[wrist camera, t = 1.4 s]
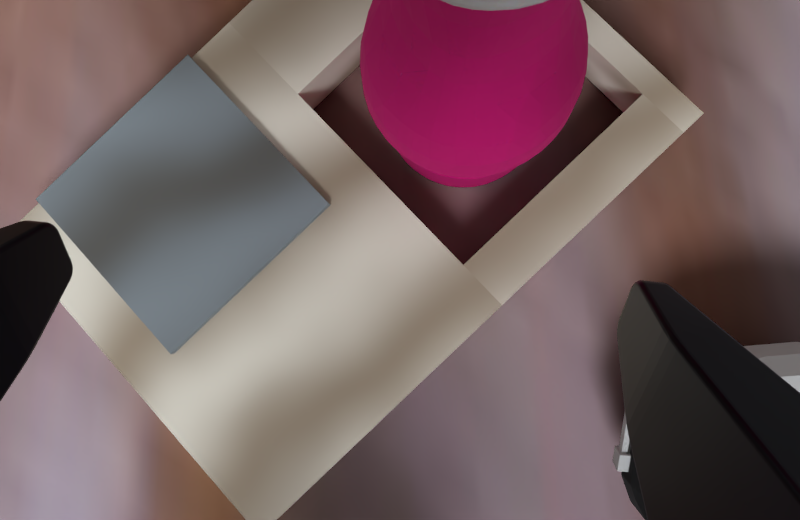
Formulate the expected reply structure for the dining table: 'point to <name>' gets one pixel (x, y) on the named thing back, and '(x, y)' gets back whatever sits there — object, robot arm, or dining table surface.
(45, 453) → the dining table surface
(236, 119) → the puzzle board
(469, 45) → the pepper mill
